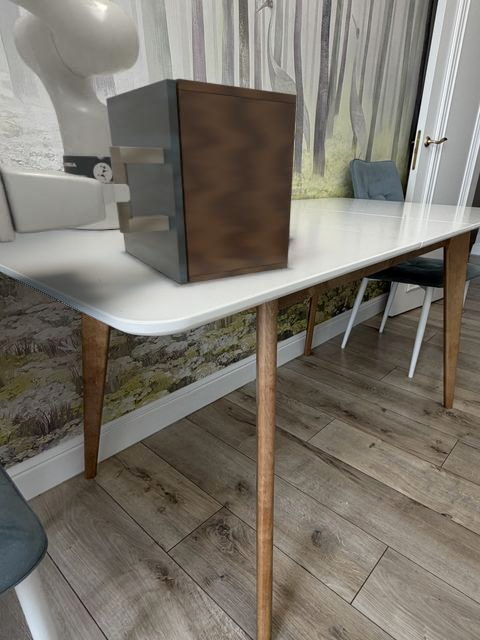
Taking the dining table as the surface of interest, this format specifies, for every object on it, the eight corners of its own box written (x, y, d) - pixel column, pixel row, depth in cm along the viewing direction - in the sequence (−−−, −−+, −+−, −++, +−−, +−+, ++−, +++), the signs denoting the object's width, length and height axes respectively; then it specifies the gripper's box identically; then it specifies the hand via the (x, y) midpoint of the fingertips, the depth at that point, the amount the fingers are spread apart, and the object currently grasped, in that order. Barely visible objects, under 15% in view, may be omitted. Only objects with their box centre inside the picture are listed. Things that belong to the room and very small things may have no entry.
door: (135, 291, 47) (108, 70, 37) (88, 255, 63) (61, 94, 53) (187, 283, 50) (175, 79, 41) (131, 250, 66) (113, 99, 57)
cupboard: (189, 284, 50) (177, 78, 41) (132, 251, 66) (114, 98, 57) (287, 268, 59) (297, 94, 49) (216, 242, 75) (212, 108, 65)
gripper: (-19, 215, 46) (102, 210, 53) (-6, 247, 31) (159, 234, 39) (-36, 155, 43) (94, 158, 51) (-30, 160, 29) (153, 163, 36)
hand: (123, 191), depth 45 cm, fingers closed on door, 2 cm apart
